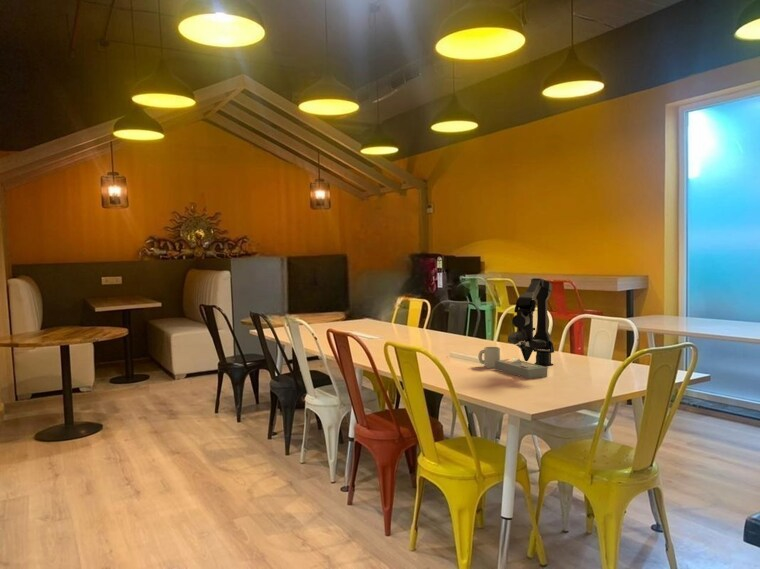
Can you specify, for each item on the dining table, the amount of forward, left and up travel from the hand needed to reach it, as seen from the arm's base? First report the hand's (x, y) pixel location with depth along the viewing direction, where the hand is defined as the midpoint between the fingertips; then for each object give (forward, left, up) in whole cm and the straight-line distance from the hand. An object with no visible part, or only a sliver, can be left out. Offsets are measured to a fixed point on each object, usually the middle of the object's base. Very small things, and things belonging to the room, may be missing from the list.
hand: (526, 361), depth 245 cm
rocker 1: (-2, -12, -2) cm, 12 cm away
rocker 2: (-2, 0, -2) cm, 3 cm away
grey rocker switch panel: (-2, -6, -6) cm, 9 cm away
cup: (+2, -24, -7) cm, 25 cm away
